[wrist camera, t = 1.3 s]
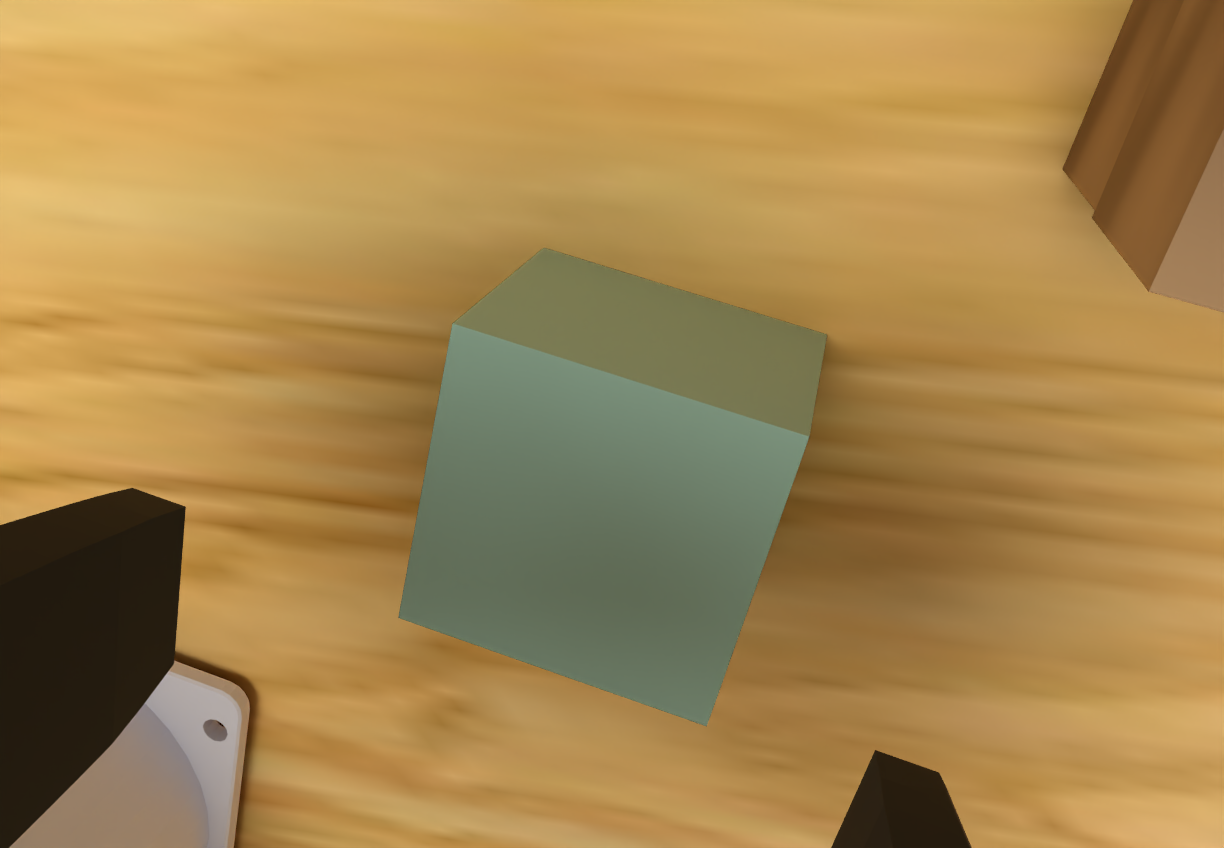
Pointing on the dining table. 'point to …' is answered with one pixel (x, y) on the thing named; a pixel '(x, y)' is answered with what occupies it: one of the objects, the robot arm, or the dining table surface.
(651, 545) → the teal block
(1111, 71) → the tower base
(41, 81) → the dining table surface
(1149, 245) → the tower mid
